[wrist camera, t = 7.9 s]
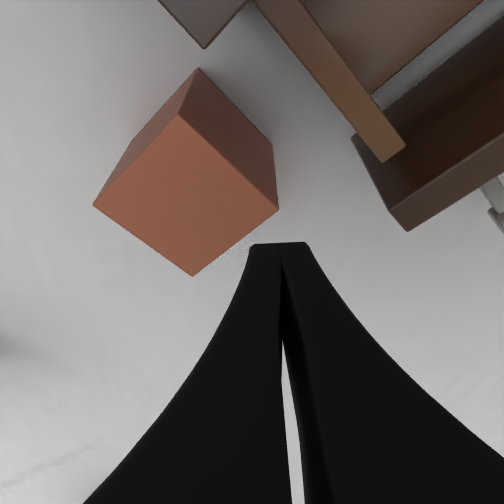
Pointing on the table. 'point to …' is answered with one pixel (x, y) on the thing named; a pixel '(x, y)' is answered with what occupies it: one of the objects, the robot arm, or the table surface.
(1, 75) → the table surface
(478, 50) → the drawer
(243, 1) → the cabinet
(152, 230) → the block
